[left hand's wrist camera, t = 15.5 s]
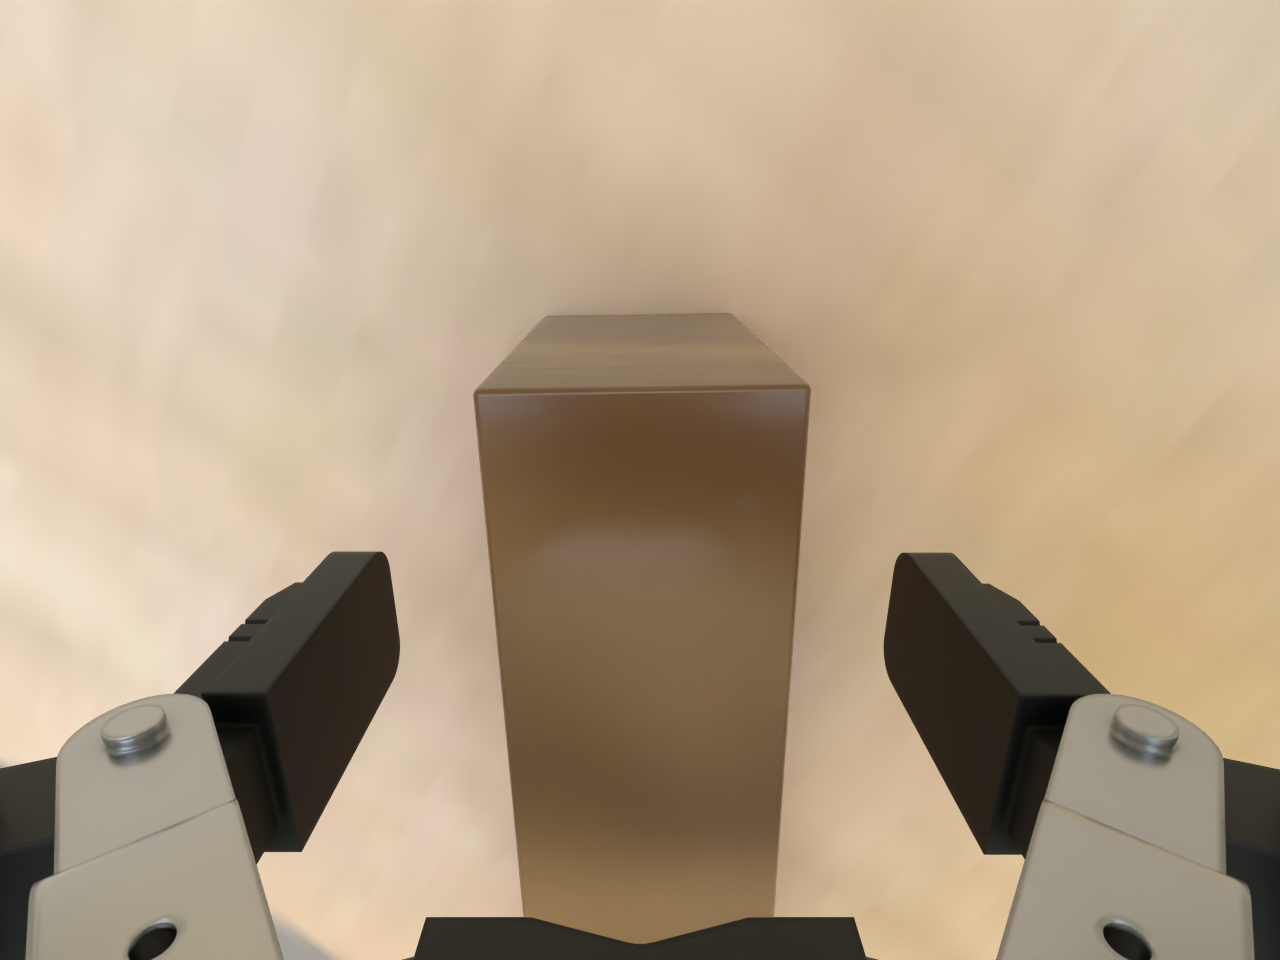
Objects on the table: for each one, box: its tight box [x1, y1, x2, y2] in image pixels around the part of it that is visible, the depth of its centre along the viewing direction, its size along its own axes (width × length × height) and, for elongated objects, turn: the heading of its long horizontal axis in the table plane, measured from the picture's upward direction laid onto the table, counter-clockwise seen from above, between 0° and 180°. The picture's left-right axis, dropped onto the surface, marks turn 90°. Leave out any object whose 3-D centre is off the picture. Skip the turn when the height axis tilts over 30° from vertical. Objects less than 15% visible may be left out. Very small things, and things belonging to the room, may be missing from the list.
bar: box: [473, 314, 811, 944], centre depth 17 cm, size 22×5×8 cm, turn 1°
